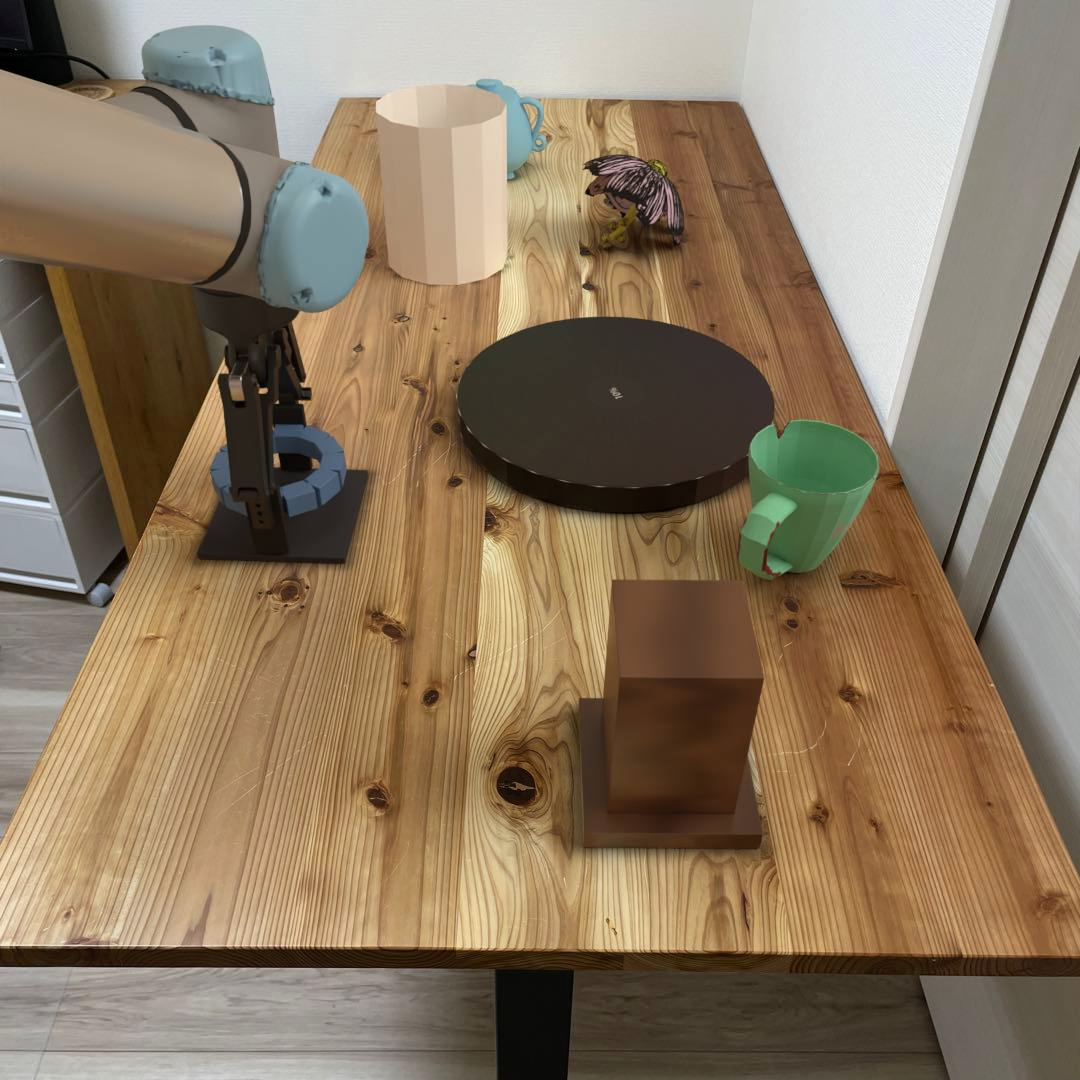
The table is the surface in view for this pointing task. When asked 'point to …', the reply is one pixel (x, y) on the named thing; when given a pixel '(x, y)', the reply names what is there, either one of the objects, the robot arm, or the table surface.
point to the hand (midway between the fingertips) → (285, 507)
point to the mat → (292, 526)
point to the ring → (300, 493)
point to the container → (444, 182)
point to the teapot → (517, 123)
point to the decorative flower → (636, 194)
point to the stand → (673, 720)
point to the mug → (803, 495)
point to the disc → (613, 413)
